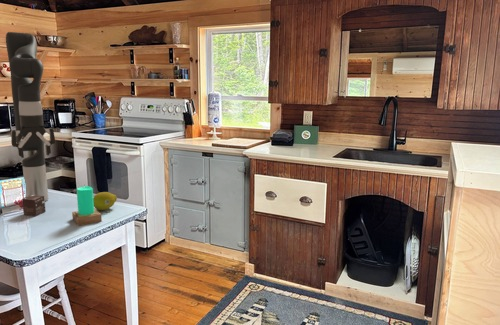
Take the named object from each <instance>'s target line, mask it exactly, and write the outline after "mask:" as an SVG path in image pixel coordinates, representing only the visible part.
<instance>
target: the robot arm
mask: <svg viewBox="0 0 500 325" xmlns="http://www.w3.org/2000/svg"><path fill="white" fill-rule="evenodd" d="M37 43H38V42H37V39H36V37H35V35H33V34H32V33H30V32H29V33H28V32H16V31H15V32H14V31H8V32H6V34H5V45H6V52H7V53H6V54H7V58H8V65H9V66H8V67H9V72H10V81H11V82H10V84H11V85H10V86H11V87H10V88H11V95H12V96H11V97H12V105H13V112H14V122H15V123H14V124H15V129H11V130H10V138H11V139H10V140H11V146H12V147H13V148H17V153H18V156H19V157H20V158H21V159H22V160H21V163H22V164H21V165H22V173H23V180H24V179H25V183H26V195H25V198H26V197H28V196H31V195H39V196H44V201H45V202H47V201H48V200H49V190H48V180H47V179H48V178H47V168H46V167H47V166H46V160H45V159H46V157H45V156H50V154H51V153H52V152H51V149H52V148H51V145H53V144H56V138H55V131H54V129H53V128H52V127H49V128H45V126H44V116H43V112H44V110H43V106H42V101H41V100H42V99H41V82H42V77H43V73H44V64H43V62H42V61H41V60H40V59H38V58H36V57H37V52H38V44H37ZM46 133H47V134H48V135H49V139H50V140H49V141H48V140H47V139H46V138H45V137H44V135H45V134H46ZM30 151H31V152H32V151H33V152H34V151H36V152H34V153H33V154H32V155H30V156H27V157H26V158H24V156H25V154H24V152H30ZM45 154H46V155H45Z"/></svg>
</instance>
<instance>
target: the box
mask: <svg viewBox="0 0 500 325" xmlns="http://www.w3.org/2000/svg"><path fill="white" fill-rule="evenodd" d="M21 200H22V211H23V215H24V216H33V217H37V216H40V215H42V214H44V213H46V203H45V202H46V201H44V196H39V195H31V196H28V197H26V196H25V197H24V198H22V199H21Z"/></svg>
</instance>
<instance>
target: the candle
mask: <svg viewBox="0 0 500 325" xmlns="http://www.w3.org/2000/svg"><path fill="white" fill-rule="evenodd" d="M93 198H94V188H93V187H91V186H85V184H84V186H80V187H78V188H76V200H77V211H78V214H79V215H90V214H93V213H94V208H95V207H94V202H93Z"/></svg>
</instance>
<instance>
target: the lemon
mask: <svg viewBox="0 0 500 325" xmlns="http://www.w3.org/2000/svg"><path fill="white" fill-rule="evenodd" d="M117 199H118V197H117V195H116V194H113V193H111V192H108V191H102V192H98V193H96V194H95V195H93V202H94V208H95V209H96V210H97V211H106V210H108V209H110V208H112V207H113V206H114V205H115V203H116V202H117Z"/></svg>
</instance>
